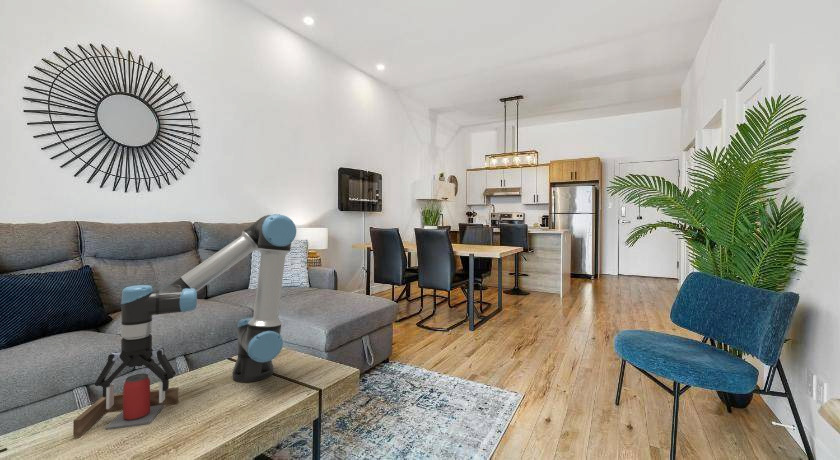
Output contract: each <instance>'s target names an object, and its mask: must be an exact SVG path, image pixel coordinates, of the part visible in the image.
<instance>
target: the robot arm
mask: <svg viewBox="0 0 840 460" xmlns="http://www.w3.org/2000/svg"><path fill="white" fill-rule="evenodd" d="M296 236H297V227H296V224H295V223H294V221H293V219H291V217H288V216H287V215H285V214H284V215H283V214H280V213H279V214H278V213H277V214H276V213H275V214H267V215H264V216H261V217H260V218H259V219H257V220H256V221H255V222H254V223H252V224H251V225H250V226H248V227H247V228H246V229H244V230H243V231H242V232H241V235H240V236H239V237H237V238H236V239H235V240H232V241H231V242H230V243H228V244H227V245H225V246H224V247H223V248H221V249H219V250H218V251H217V252H215V253H214V254H212V255H211V256H210V257H208V258H207V259H205V260H204V261H202V262H201V263H200V264H197V266H195V267H193V268H192V269H190V270H189V271H187V272H186V273H185V274H182V275H181V277H179V278H177V279H176V280H175V281H173V282H171V283H168V284H166V285H164V287H163V288H162V289H161V290H154V288H153V286H152V285H150V284H142V285H140V284H139V285H130V286H127V287H124V288H123V289H122V291H121V302H120V306H121V311H120V312H121V328H120V329H121V333H120V334H121V335H120V336H121V337H122V338H121V340H120V341H121V347H120V350H121V352H119V353H118V352H116V351H114V352H111V353H110V354H109V355H108V356H107V362H106V364H105V365H104V367H103V369H102V370H101V372H100V373H99V376H98V378H97V379H96V381H95V382H94V386H95V387H102V396H103V398H104V397H106V409H110V408H111V407H112V406H113V405H114V394H115V384H114V383H112V382H113V381H114V380H115V379H116V378H118V376H119V375H120V374H121V373H122V372H123V370H125V368H126V367H129V368H133V367H139V368H140V367H142V366H144V367H145V368H148V369H149V370H150V371H151V372H152V373H153V374H154V375H155V376H156V377H157V378H159V379H160V381H159V382H158V386H159V387H158V389H159V403H162V402H163V401H164V400H165V391H167V389H168V388H170V382H169V381H170V380H171V379H173V378H174V377H175V376H176V370H175V369H174V367H173V366H172V364H171V363H170V361H169V359H168V358H167V356H166V354H165V348H163V347H161V348H160V349H157V350H153V335H152V332H153V316H157V315H158V316H159V315H167V314H177V313H186V312H190V311H192V312H193V311H195V310H196V309H197V305H198V294H197V292H198V291H200V290H201V289H203V288H204V287H205V286H206V285H208V284H209V283H211V282H212V281H214V280H215V279H216V278H218V277H219V276H221V275H222V274H223V273H225V272H227V271H228V270H229V269H230V268H232V267H233V266H235V265H236V264H237V263H239V262H240V261H242V260H243V259H244V258H246V257H247V256H249V255H250V254H252V253H253V252H255V251H257V252H259V253H260V260H259V267H258V277H257V284H256V292H255V300H254V307H253V308H254V310H253V316H252V317H251V316H250V317H247V318H246V317H245V318H242V319H240V320H238V322H237V327H236V328H237V356H236V357H237V358H236V361H235V364H234V367H233V370H232V375H231V377H232V380H233V381H235V382H238V383H252V382H258V381H262V380H265V379H268V378H269V377H270V376H272V375H273V374H274V371H275V367H274V366H275V365H274V363H273V359H275V358H276V357H277V356H279V354H280V353H281V351H282V349H283V345H284V340H283V337H282V335H281V330H282V321H281V320H280V319H279V313H280V312H279V311H280V306H281V305H280V302H281V294H282V286H283V277H284V270H285V263H286V255H288V254H289V253H290V252H291V248H292V243H293V241H294V240H295V238H296ZM153 356H154V357H155V358H157V361H158V362H159V364H160V365H161V366H159V365H158V363H156V362H155V360H154V359H153V358H152V357H153ZM119 359H120V360H121V362H122V363H121V364H120V365H119V366H118V367H117V369H115V371H113V373H112V374H111V375H110V376H109V377H108V375H109V373H110V371H111V369H112V367H114V365H115V363H116V361H117V360H119ZM107 377H108V378H107Z"/></svg>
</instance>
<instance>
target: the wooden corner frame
mask: <svg viewBox="0 0 840 460" xmlns="http://www.w3.org/2000/svg"><path fill="white" fill-rule="evenodd" d="M179 393H180V390H179V387H178V386H177V387H176V386H175V387H169V388H168V389H167V391H165V400H164V401H163V402H162V403H159V388H158V389H150V406H157V405H164V406H171V405H177V404H178V403H179V402H180V401H179V398H180V397H179ZM122 411H123V393H122V392H121V393H114V405H113V406H112V407H111V408H110V409H106V397H104V398H103V395H102V397H100V398H99V399H97V400H96V401H95V402H94V403H93V404H92V405H91V406H88V408H87V409H85V411H83V412H82V413H81V414H79V416H77V417H76V418H75V419H73V427H72V428H73V436H72V437H73V439H77V438H81V437H82V436H83V435H84V434H85V433H87V432H88V431H89V430H90V429H91V428H92V427H93V426H94V425H95V424H96V423H98V422H99V421H100V419H101V418H103V417H104V416H105V415H106V414H107V413H112V412H122Z"/></svg>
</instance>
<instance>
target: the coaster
mask: <svg viewBox="0 0 840 460" xmlns="http://www.w3.org/2000/svg"><path fill="white" fill-rule="evenodd" d="M163 408H165V405H157V406H150V412H149V413H148V414H147V415H145V416H144V417H142V418H139V419H135V420H126V419H124V418H123V410H122V411H120V413H118V415H117V416H115V418H113V420H112V421H111V422H109V424H108V425H107V426H106V427H105V431H107V430H115V429H122V428H124V429H125V428H129V427H137V426H145V425H151V424H152V422H153V421H154V420H155V418H156V417H157V416H158V415H159V414H160V412H161V411H162V409H163Z"/></svg>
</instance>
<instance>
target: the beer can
mask: <svg viewBox="0 0 840 460" xmlns="http://www.w3.org/2000/svg"><path fill="white" fill-rule="evenodd" d="M150 390H151V379H150V376H149V374H147V373H137V374H132V375H130V376H128V377H127V378H125V382H124V384H123V389H122V391H123V410H122V411H123V418H124V419H126V420H135V419H139V418H142V417H144V416H145V415H147V414H148V413H149V412H150Z"/></svg>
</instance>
